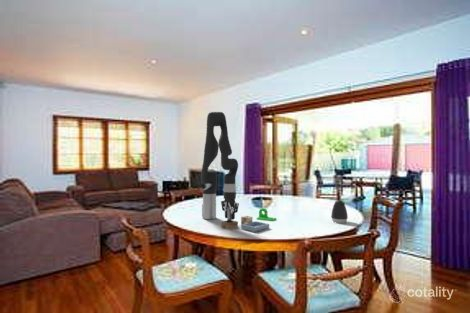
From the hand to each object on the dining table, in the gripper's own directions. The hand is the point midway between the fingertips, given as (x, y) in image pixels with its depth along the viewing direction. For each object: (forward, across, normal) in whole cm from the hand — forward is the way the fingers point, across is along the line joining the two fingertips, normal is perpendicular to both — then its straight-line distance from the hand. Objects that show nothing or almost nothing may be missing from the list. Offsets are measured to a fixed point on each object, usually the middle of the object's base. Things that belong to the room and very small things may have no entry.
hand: (229, 218), depth 180 cm
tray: (+6, +13, +9) cm, 17 cm away
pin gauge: (+5, 0, 0) cm, 5 cm away
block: (+6, +4, +11) cm, 13 cm away
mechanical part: (+6, +2, +33) cm, 33 cm away
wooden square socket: (+6, 0, 0) cm, 6 cm away
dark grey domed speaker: (+6, +41, +61) cm, 74 cm away
